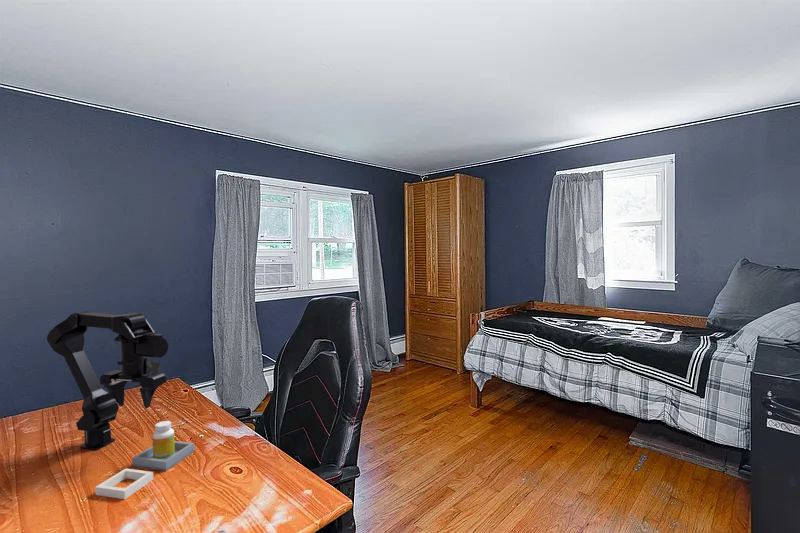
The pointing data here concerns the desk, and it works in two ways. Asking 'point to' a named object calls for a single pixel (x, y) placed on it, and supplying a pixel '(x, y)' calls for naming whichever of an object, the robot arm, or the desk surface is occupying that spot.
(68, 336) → the robot arm
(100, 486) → the holder collar
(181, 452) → the tray
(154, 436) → the supplement bottle
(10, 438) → the desk surface
